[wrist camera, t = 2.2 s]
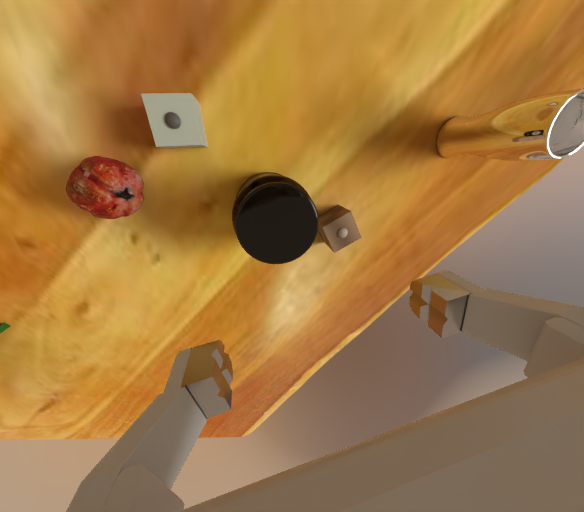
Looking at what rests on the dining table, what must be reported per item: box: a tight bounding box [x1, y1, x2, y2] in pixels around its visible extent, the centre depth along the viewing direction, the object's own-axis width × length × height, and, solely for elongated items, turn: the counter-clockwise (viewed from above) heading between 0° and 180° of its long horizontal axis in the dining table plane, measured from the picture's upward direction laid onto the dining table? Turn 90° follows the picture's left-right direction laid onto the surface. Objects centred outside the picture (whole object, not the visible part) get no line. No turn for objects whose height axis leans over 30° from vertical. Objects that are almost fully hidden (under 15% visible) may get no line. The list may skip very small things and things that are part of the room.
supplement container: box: [232, 172, 319, 264], centre depth 29 cm, size 10×10×12 cm
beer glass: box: [437, 88, 584, 161], centre depth 29 cm, size 7×7×15 cm
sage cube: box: [141, 93, 208, 149], centre depth 26 cm, size 5×5×5 cm
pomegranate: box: [66, 156, 144, 219], centre depth 27 cm, size 7×7×10 cm
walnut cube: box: [318, 205, 361, 253], centre depth 36 cm, size 5×5×5 cm
